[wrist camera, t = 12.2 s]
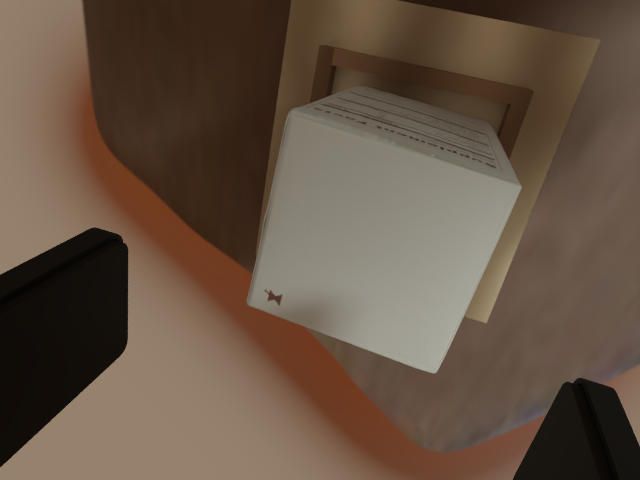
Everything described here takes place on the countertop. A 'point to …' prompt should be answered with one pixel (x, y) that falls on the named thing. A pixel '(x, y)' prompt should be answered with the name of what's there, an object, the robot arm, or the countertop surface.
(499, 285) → the maple plinth
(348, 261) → the supplement box
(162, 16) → the countertop surface
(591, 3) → the countertop surface
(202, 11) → the countertop surface
